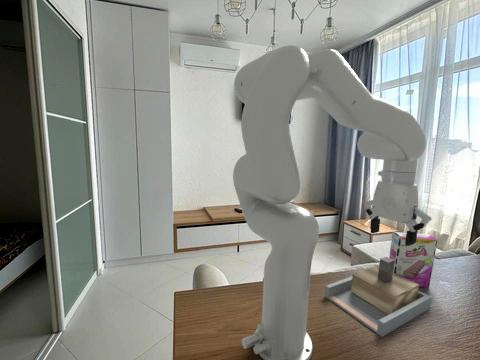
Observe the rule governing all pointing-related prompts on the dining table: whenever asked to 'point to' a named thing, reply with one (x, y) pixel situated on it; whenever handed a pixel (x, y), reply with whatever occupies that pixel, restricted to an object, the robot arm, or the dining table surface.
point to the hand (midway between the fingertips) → (391, 238)
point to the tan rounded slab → (384, 287)
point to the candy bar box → (413, 257)
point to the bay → (374, 308)
